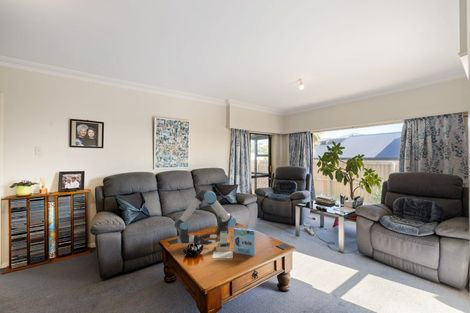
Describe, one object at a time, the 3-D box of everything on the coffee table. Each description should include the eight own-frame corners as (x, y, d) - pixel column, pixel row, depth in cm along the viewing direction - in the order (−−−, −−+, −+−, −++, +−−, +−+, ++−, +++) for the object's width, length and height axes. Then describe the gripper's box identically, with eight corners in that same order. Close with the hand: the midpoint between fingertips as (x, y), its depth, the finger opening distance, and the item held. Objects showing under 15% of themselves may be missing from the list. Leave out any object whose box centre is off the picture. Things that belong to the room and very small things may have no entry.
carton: (217, 246, 207) (217, 232, 207) (230, 246, 207) (230, 231, 207) (216, 251, 195) (216, 236, 195) (230, 251, 195) (230, 236, 195)
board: (213, 252, 194) (213, 251, 194) (232, 252, 194) (232, 251, 194) (212, 258, 182) (212, 258, 182) (232, 258, 182) (232, 257, 182)
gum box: (255, 253, 192) (255, 229, 191) (254, 256, 187) (254, 231, 187) (235, 250, 197) (235, 227, 197) (233, 253, 193) (233, 228, 192)
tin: (220, 247, 204) (220, 231, 204) (226, 247, 204) (226, 231, 204) (220, 249, 199) (220, 233, 199) (226, 249, 199) (226, 233, 199)
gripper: (196, 237, 213) (216, 237, 213) (191, 248, 188) (214, 248, 188) (196, 230, 213) (216, 230, 213) (191, 240, 188) (214, 240, 188)
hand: (216, 239), depth 201 cm, fingers open, 13 cm apart
